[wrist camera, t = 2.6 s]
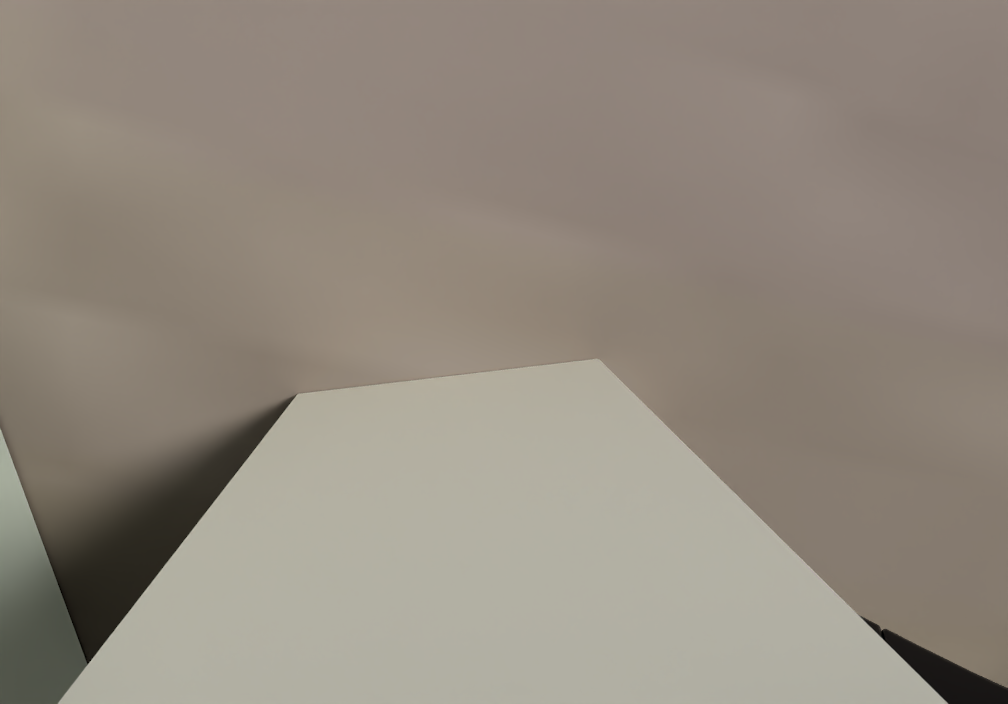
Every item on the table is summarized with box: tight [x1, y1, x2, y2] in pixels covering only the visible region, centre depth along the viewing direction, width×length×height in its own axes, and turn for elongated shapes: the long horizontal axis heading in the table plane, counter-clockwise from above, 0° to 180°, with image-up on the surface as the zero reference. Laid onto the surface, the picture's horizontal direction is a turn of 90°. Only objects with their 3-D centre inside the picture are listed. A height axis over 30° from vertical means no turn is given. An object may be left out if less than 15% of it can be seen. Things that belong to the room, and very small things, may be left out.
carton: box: [58, 359, 948, 704], centre depth 6 cm, size 5×5×8 cm
